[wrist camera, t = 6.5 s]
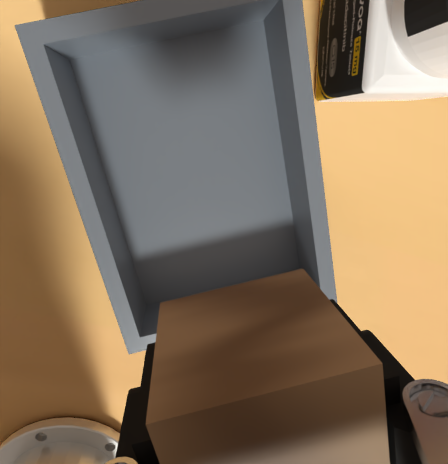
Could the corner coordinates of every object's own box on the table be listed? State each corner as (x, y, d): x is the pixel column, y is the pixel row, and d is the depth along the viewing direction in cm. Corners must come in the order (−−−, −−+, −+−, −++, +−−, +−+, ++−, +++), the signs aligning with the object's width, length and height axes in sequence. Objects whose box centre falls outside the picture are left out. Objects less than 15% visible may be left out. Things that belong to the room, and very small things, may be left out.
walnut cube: (302, 268, 12) (382, 363, 7) (320, 383, 14) (394, 524, 9) (160, 302, 12) (145, 424, 7) (194, 416, 13) (200, 578, 9)
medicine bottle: (319, -19, 22) (468, -173, 11) (425, -16, 23) (670, -157, 11) (313, 102, 24) (431, 82, 13) (410, 101, 25) (603, 80, 13)
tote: (310, 272, 28) (337, 302, 23) (138, 314, 27) (128, 354, 22) (273, 2, 22) (298, -31, 17) (51, 47, 21) (14, 25, 17)
